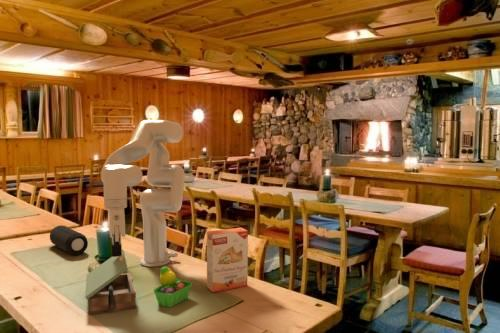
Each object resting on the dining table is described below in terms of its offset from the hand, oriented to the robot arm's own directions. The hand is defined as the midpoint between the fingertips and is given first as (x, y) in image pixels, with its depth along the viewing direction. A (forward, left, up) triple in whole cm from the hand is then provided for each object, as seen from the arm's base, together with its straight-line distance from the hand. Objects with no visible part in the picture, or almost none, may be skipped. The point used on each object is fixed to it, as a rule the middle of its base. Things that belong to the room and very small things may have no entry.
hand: (116, 255), depth 145 cm
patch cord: (+2, +6, -13) cm, 14 cm away
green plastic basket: (-17, +13, -14) cm, 25 cm away
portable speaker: (+19, -62, -14) cm, 67 cm away
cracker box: (-38, +8, -14) cm, 41 cm away
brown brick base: (+2, +5, -14) cm, 14 cm away
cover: (+3, +5, -4) cm, 7 cm away
